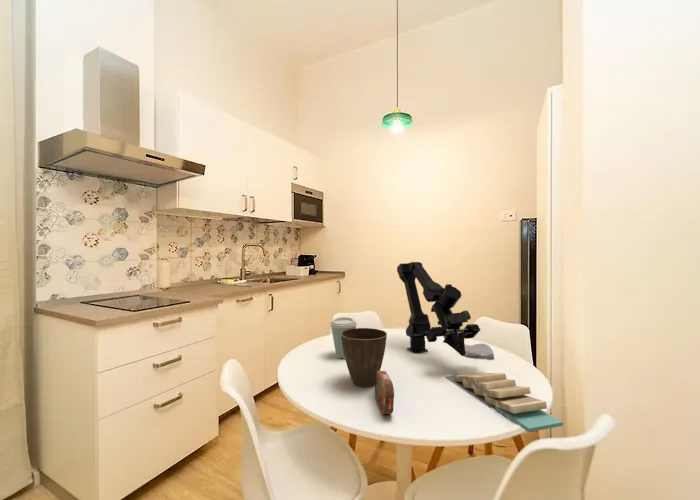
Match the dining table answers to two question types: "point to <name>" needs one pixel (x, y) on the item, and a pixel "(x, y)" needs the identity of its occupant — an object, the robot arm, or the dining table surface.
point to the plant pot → (363, 354)
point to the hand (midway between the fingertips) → (463, 355)
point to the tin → (384, 392)
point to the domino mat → (469, 390)
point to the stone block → (479, 351)
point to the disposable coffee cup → (338, 327)
